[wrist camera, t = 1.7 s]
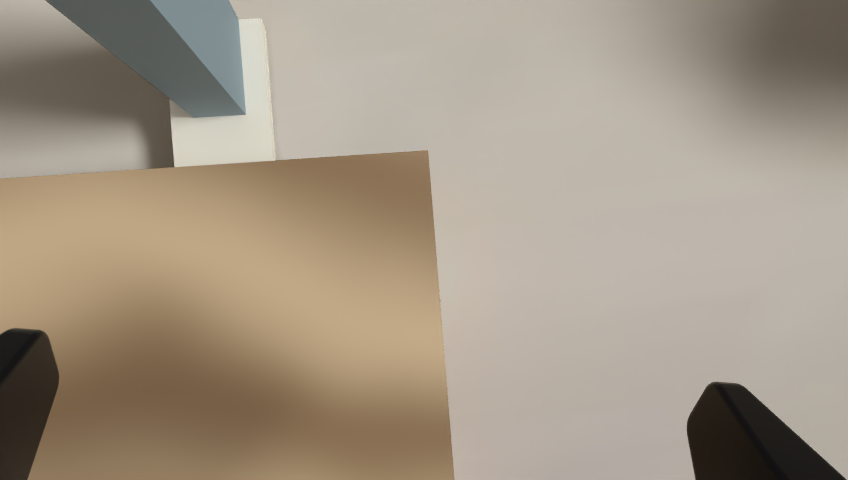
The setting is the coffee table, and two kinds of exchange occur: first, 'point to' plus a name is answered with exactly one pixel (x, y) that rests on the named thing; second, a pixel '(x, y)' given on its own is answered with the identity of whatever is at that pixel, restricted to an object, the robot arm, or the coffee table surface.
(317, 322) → the kraft carton sleeve
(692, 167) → the coffee table surface
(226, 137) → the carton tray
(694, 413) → the robot arm
